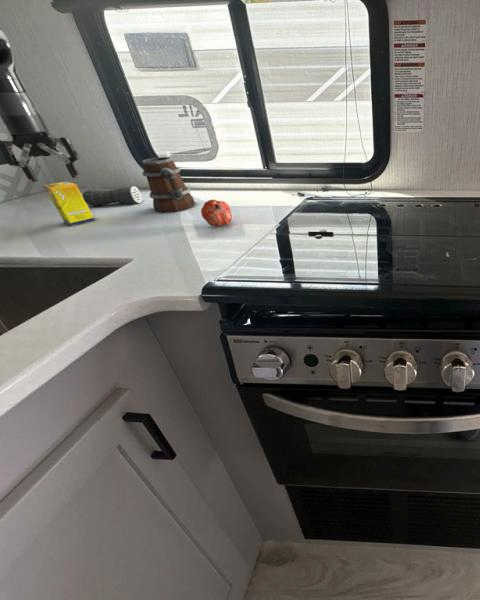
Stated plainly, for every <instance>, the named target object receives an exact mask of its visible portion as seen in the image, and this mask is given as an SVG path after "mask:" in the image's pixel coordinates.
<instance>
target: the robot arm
mask: <svg viewBox="0 0 480 600" xmlns="http://www.w3.org/2000/svg"><path fill="white" fill-rule="evenodd" d="M13 52H14V51H13V48H12V45H11V41H10V39H9V37H8V35H7V34H6V32H5V31H4V29H3V28H2V27H1V26H0V119H1V121H2V122H3V124H4V126H5V128H6V129H7V131H8V133H9V135H10V136H11V139H12V140H6V139H0V151H1V152H2V155H3V157H4V159H5V160H6V162H7V164H8V165H9V166H12V167H13V166H14V167H19V168H21V170H22V171H23V173H24V174H25V177H26V178H27V179H28V180H29V181H31V182H33V183H35V182H38V181H39V178H38V176H37V174H36V173H35V171H34V169H33V168H32V166H31V165H30V162H31V160H32V158H33V157H34V158H38V157H50V156H53V157H54V158H56V159H58V160H60V161H62V162H63V163H65V167H66V168H67V171H68V173H69V175H70V176H71V178H72V179H77V178H78V176H79V171H78V170H77V168H76V165H75V164H74V163H75V162H76V161H78V160H80V155H79V154H78V153H77V150H76V148H75V147H74V145H73V144H72V142H71V140H70V138H69V137H68V136H62V137H54V136H53V135H52V134H51V132H50V130H49V128H48V126H47V124H46V123H45V121H44V119H43V117H42V115H41V112H40V111H39V109H38V107H37V105H36V104H35V103H36V102H34V100H33V98H32V97H31V96H30V94H29V93H28V90H27V88H26V86H25V85H24V82H23V80H22V78H21V77H20V76H19V74H18V70H17V65H16V60H15V56H14V53H13ZM57 144H59V145H60V146H61V147H63V148H64V149H65V150H66V152H67V153H68V155H69V156H68V155H66V154H65V153H64V152H62V151H61V150H59V149H58V148H57ZM14 146H15V147H16V148H17V149H19V150H21V154H20V159H19V160H18V159H17V157H16V156H15V153H14V151H13V149H14Z"/></svg>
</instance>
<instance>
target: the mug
mask: <svg viewBox="0 0 480 600" xmlns="http://www.w3.org/2000/svg"><path fill="white" fill-rule="evenodd" d="M142 168H143V171H142V173H141V174H142V176H143V177H146V180H147V183H148V187H149V190H150V192H149V196H148V197H149V198H150V199H152V200H153V201H152V205H153V209H154V211H155V212H158V213H159V212H160V213H173V212H174V213H175V212H179V211H184V210H188V209H190V208H192V207H195V206H196V202H195V198H194V197H193V196H192V193H191V189H190V187H189V186H187V185H186V184H185V182H184V180H183V178H182V175H181V174H180V172H181V168H180V167H179V166H177V165H176V163H175V162H174V160H173V159H172V157H170V156H169V157H168V156H161V157H159V156H158V157H152V158H147V159H143V160H142Z"/></svg>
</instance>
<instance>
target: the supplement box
mask: <svg viewBox="0 0 480 600" xmlns="http://www.w3.org/2000/svg"><path fill="white" fill-rule="evenodd" d="M43 188H44V190H45V191H46V193H47V195H48V197H49V199H50V200H51V201H52V204H53V205H54V207H55V208H56V210H57V212H58V214H59V215H60V217H61V219H62V220H63V222H64V223H66V224H68V225H69V226H72V227H73V226H77V225H81V224H84V223H89V222H93V221H95V220H96V218H94V215H93V213H92V212H91V209H90V208H89V205H88V204H87V203H86V202H85V201H84V199H83V194H82V193H81V191H80V189H79V187H78V185H77V184H76V183H73V182H71V181H69V180H68V181H62V182H61V181H60V182H55V183H48V184H43Z"/></svg>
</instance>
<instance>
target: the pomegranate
mask: <svg viewBox="0 0 480 600" xmlns="http://www.w3.org/2000/svg"><path fill="white" fill-rule="evenodd" d="M200 214H201V217H202V218H203V219H204V221H206V223H207V224H208V225H210V226H213V227H221V226H227V225H228V224H230V223H231V221H232V219H233V216H232V211H231V208H230V205H229V204H228V203H227V202H225V201H223V200H218V199H217V200H216V199H209V200H207V201H205V202H204V204H203V206H202V207H201V210H200Z"/></svg>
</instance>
